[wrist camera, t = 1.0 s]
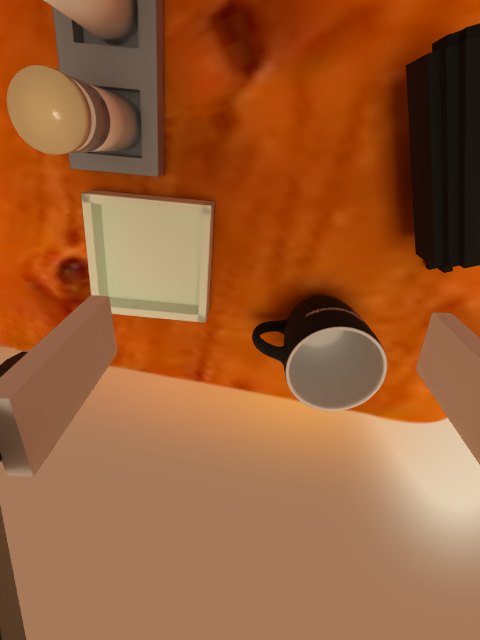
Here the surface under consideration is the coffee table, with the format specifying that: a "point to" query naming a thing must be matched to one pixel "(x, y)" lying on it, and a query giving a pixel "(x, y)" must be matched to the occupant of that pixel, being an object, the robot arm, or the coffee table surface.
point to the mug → (327, 354)
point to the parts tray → (150, 253)
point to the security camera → (446, 150)
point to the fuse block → (117, 71)
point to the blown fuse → (70, 114)
